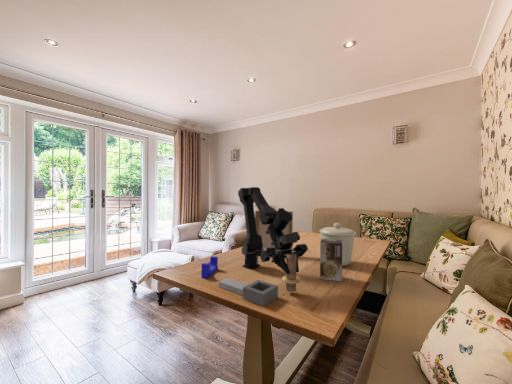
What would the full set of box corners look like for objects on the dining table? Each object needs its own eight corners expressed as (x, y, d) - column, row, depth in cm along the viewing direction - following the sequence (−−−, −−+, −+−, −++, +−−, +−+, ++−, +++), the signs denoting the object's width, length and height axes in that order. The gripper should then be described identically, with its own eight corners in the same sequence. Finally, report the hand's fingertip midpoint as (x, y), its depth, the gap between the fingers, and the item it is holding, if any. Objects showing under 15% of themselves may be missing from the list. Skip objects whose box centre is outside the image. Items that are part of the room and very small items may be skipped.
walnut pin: (287, 284, 93) (288, 251, 93) (302, 289, 89) (303, 254, 89) (278, 290, 88) (279, 254, 88) (294, 295, 84) (295, 258, 84)
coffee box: (341, 276, 106) (342, 240, 106) (342, 282, 100) (342, 243, 100) (320, 274, 109) (321, 238, 109) (319, 279, 103) (320, 241, 103)
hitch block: (230, 281, 99) (231, 271, 99) (277, 297, 86) (278, 285, 85) (215, 288, 92) (215, 277, 92) (263, 306, 79) (263, 294, 78)
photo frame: (291, 257, 134) (292, 212, 134) (253, 255, 137) (253, 211, 137) (292, 251, 148) (292, 210, 148) (257, 249, 152) (257, 209, 152)
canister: (320, 267, 118) (320, 224, 117) (317, 257, 136) (318, 219, 135) (359, 270, 115) (360, 226, 114) (351, 259, 132) (352, 220, 132)
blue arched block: (208, 268, 115) (208, 256, 115) (217, 269, 114) (217, 256, 114) (198, 277, 103) (198, 263, 103) (208, 278, 102) (208, 264, 102)
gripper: (264, 226, 87) (280, 265, 78) (305, 223, 96) (324, 258, 86) (254, 243, 95) (267, 281, 85) (293, 239, 103) (309, 273, 93)
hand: (293, 273), depth 87 cm, fingers closed on walnut pin, 4 cm apart
